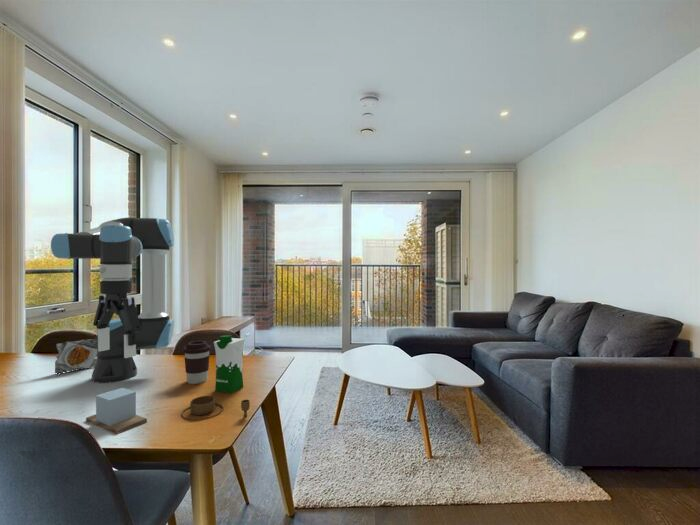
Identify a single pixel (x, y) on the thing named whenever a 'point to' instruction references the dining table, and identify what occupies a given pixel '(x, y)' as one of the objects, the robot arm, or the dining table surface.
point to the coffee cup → (197, 361)
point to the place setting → (210, 406)
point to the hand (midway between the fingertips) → (116, 353)
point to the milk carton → (228, 364)
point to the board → (118, 426)
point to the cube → (115, 406)
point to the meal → (76, 355)
